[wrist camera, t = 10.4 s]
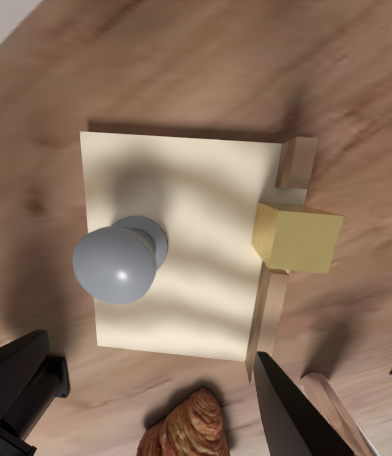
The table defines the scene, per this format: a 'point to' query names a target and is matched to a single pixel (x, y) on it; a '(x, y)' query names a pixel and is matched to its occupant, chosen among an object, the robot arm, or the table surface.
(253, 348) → the board
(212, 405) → the pastry
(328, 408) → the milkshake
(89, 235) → the grey rounded knob
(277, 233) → the tab
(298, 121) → the table surface
